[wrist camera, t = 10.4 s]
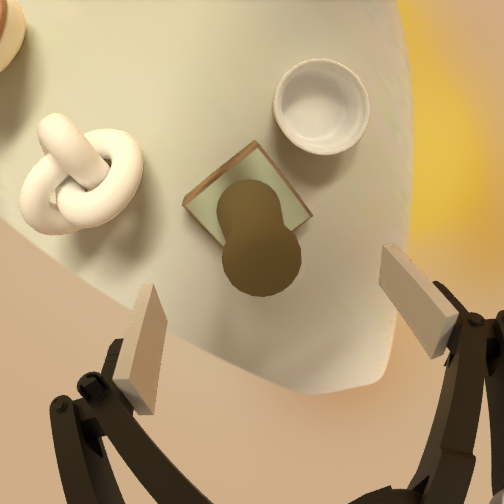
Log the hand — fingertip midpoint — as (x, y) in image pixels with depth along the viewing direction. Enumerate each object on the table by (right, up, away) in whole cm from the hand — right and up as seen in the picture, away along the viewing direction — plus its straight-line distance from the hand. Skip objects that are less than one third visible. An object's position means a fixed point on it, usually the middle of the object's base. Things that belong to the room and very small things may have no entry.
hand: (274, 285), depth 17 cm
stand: (-2, +7, +14) cm, 16 cm away
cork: (-1, +6, +12) cm, 13 cm away
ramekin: (+5, +16, +11) cm, 20 cm away
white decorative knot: (-17, +11, +11) cm, 23 cm away
